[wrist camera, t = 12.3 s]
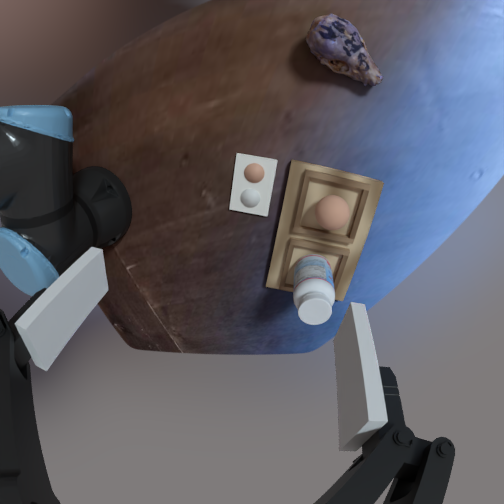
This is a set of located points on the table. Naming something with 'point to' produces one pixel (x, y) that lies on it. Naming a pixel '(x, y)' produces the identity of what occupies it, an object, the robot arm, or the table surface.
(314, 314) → the pill bottle
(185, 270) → the table surface
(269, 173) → the card
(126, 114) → the table surface
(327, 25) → the skull
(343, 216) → the egg
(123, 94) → the table surface
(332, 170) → the tray
